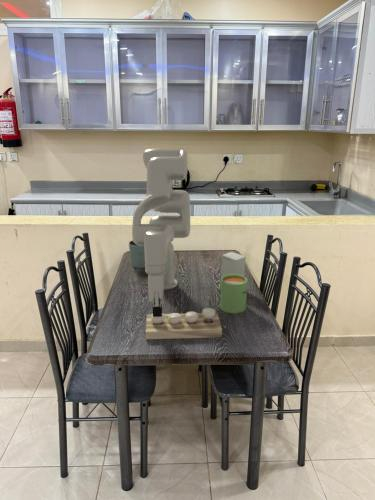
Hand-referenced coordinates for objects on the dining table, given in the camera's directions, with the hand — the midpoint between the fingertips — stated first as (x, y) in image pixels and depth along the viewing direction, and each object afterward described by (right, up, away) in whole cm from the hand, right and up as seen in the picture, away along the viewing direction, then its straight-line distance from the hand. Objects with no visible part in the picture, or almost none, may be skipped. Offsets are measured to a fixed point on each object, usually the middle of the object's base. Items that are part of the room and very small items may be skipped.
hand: (157, 315), depth 138 cm
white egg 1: (+6, -5, +2) cm, 8 cm away
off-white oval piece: (0, -5, +2) cm, 5 cm away
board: (+9, -5, +3) cm, 11 cm away
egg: (+18, -3, +2) cm, 18 cm away
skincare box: (+30, +6, +35) cm, 46 cm away
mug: (+29, 0, +20) cm, 35 cm away
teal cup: (-14, +15, +62) cm, 65 cm away
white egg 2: (+12, -4, +3) cm, 13 cm away
